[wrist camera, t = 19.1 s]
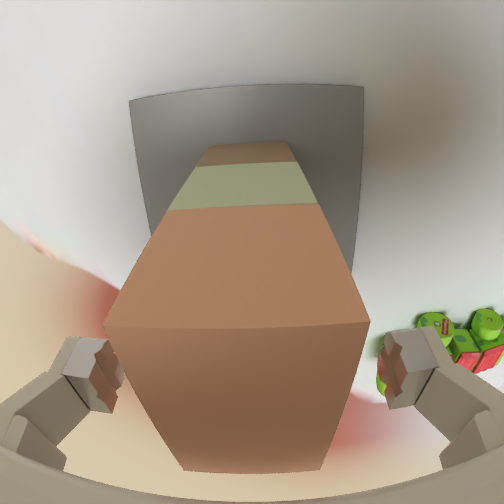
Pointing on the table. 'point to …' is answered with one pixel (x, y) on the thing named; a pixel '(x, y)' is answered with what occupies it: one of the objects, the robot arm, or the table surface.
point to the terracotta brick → (241, 336)
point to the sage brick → (244, 186)
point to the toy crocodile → (467, 340)
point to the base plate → (255, 142)
